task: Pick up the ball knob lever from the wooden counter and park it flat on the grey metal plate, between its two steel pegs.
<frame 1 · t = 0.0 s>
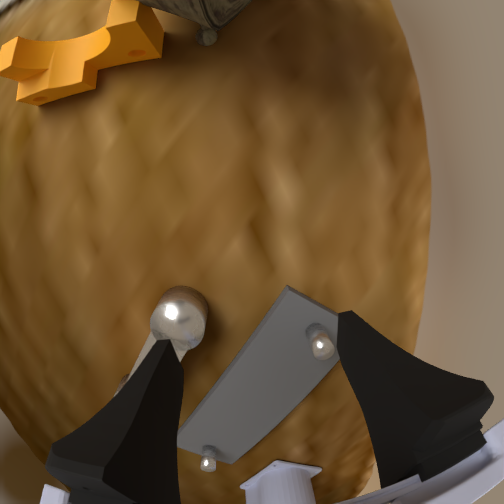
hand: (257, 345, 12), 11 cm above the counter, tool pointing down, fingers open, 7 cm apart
grey metal plate: (253, 396, 25), on the counter
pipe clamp: (94, 67, 17), on the counter, touching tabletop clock
ball knob lever: (158, 353, 24), on the counter
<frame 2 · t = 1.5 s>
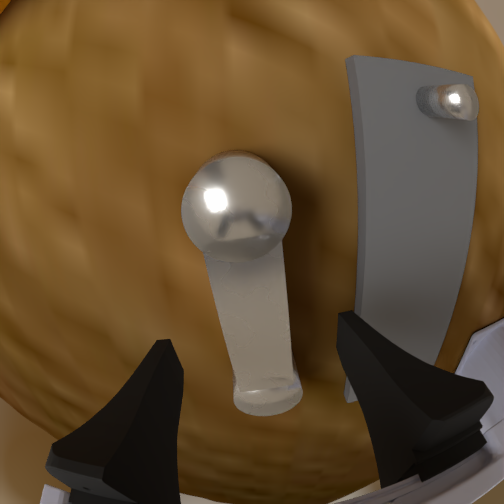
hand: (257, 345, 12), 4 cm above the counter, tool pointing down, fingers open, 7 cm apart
grey metal plate: (413, 262, 15), on the counter
ball knob lever: (251, 292, 15), on the counter
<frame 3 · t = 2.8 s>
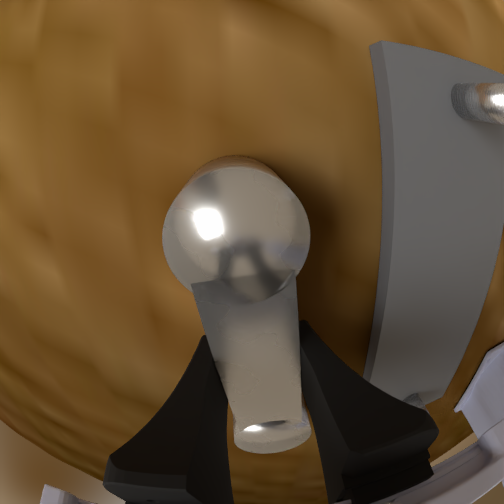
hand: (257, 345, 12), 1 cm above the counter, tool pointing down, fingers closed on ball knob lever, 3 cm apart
grey metal plate: (436, 285, 13), on the counter
ball knob lever: (254, 324, 13), on the counter, touching gripper
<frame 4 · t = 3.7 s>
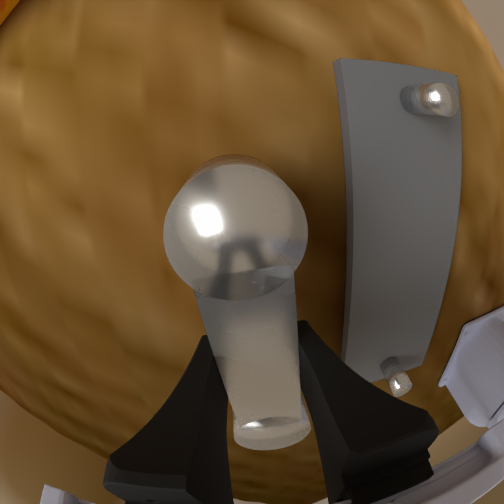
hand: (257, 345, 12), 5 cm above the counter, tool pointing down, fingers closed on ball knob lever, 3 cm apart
grey metal plate: (401, 252, 17), on the counter
ball knob lever: (253, 321, 13), point 4 cm above the counter, touching gripper
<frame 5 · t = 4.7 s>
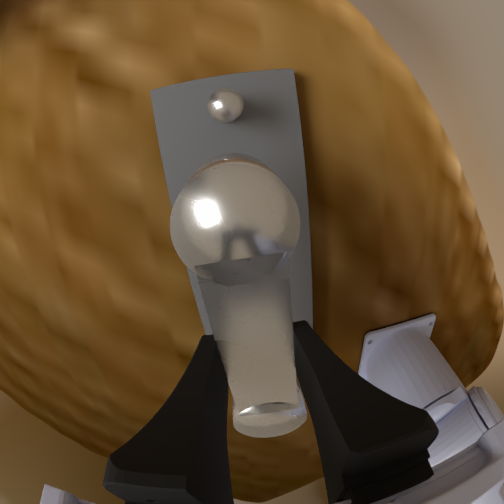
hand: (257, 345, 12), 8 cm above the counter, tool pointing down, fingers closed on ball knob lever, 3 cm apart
grey metal plate: (248, 256, 19), on the counter
ball knob lever: (252, 310, 14), point 6 cm above the counter, touching gripper
when the fingers open (4 cm above the counter, at t = 5.9 s): ball knob lever stays where it is, resting on grey metal plate.
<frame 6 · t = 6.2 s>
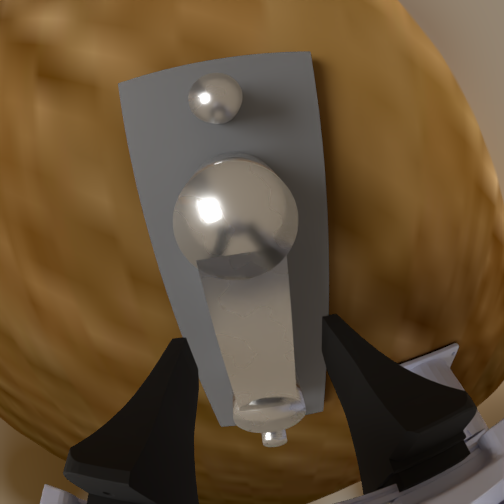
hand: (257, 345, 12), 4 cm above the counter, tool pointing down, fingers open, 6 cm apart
grey metal plate: (250, 295, 15), on the counter
ball knob lever: (251, 306, 14), point 1 cm above the counter, touching grey metal plate
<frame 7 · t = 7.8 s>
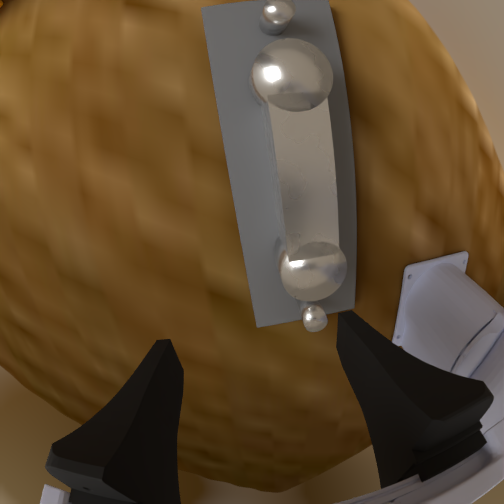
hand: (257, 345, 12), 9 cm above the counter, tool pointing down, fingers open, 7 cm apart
grey metal plate: (291, 167, 18), on the counter
ball knob lever: (294, 169, 17), point 1 cm above the counter, touching grey metal plate
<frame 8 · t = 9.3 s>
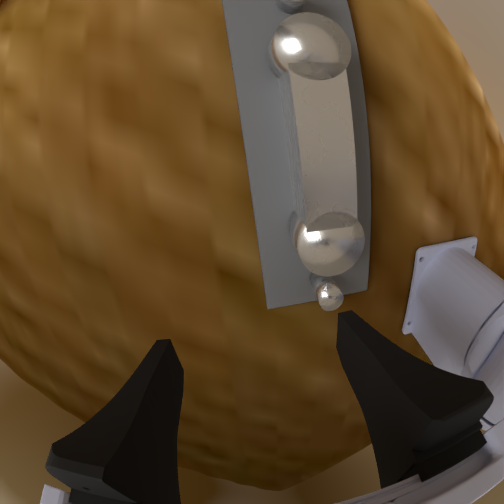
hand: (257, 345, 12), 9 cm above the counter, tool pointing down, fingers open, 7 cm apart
grey metal plate: (306, 141, 17), on the counter
ball knob lever: (310, 142, 16), point 1 cm above the counter, touching grey metal plate
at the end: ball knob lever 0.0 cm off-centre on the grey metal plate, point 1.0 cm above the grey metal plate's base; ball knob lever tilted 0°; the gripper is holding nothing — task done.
